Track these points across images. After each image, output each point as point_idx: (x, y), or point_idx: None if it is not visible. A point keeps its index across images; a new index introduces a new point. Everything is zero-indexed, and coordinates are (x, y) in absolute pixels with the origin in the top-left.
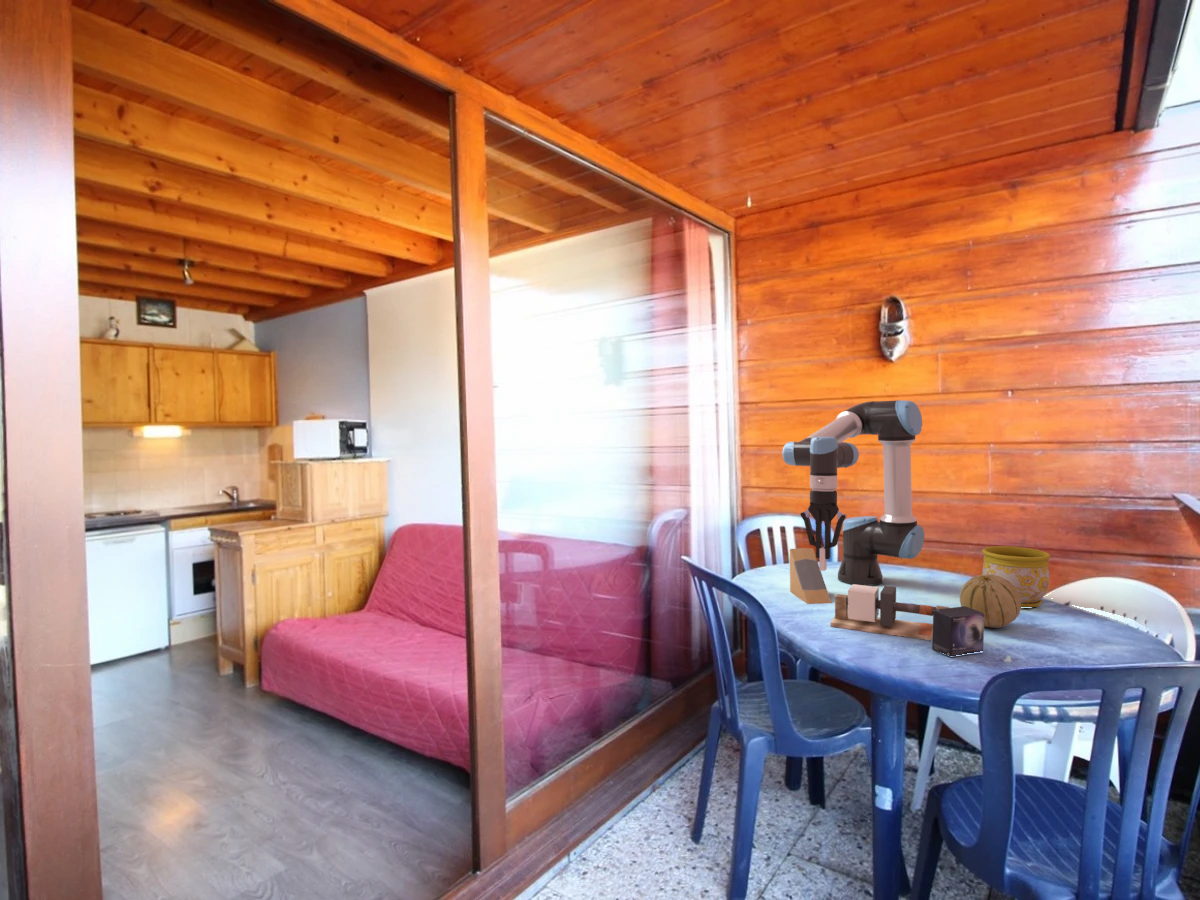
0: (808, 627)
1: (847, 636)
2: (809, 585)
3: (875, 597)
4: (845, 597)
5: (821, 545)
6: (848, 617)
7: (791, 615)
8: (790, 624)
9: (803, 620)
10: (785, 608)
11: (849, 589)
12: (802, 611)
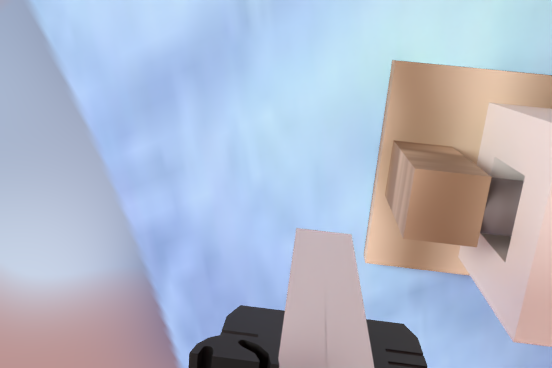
0: (267, 300)
1: (443, 364)
2: None
3: None
4: (473, 241)
5: (269, 358)
6: (461, 260)
7: (158, 143)
8: (184, 284)
9: (229, 205)
10: (99, 23)
11: (525, 307)
12: (197, 47)
